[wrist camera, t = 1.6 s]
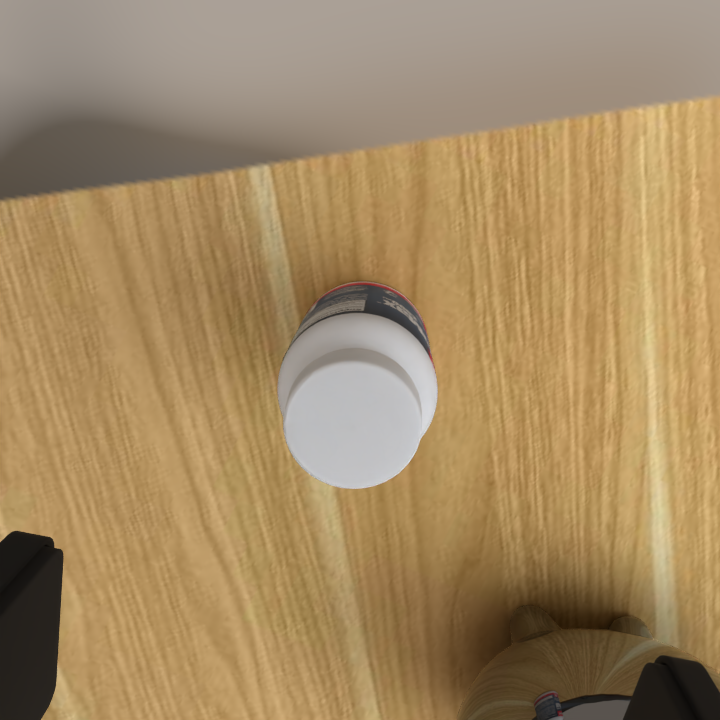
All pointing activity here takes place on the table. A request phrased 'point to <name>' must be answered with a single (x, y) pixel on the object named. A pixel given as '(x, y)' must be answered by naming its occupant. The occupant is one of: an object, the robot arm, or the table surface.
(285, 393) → the pill bottle
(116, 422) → the table surface
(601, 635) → the piggy bank
